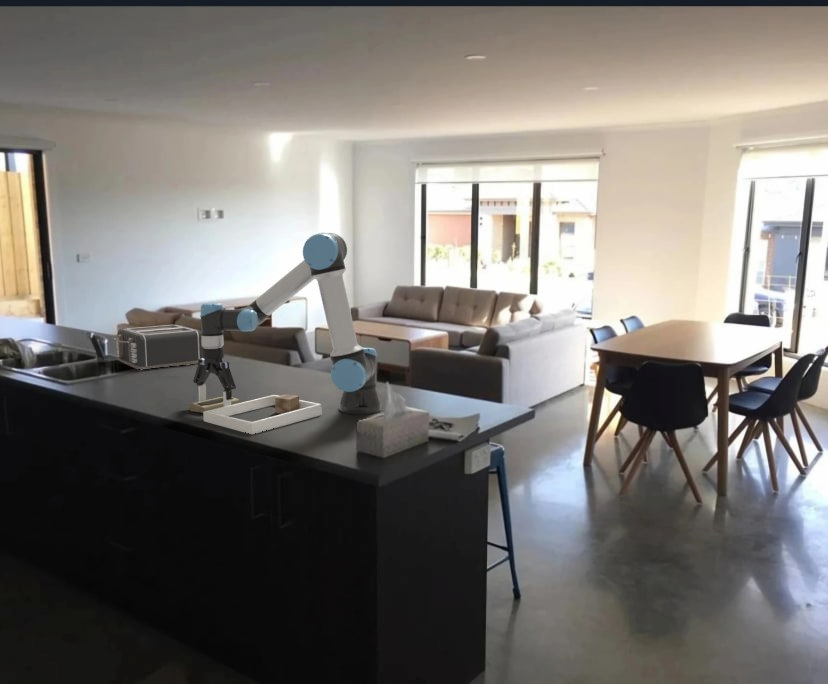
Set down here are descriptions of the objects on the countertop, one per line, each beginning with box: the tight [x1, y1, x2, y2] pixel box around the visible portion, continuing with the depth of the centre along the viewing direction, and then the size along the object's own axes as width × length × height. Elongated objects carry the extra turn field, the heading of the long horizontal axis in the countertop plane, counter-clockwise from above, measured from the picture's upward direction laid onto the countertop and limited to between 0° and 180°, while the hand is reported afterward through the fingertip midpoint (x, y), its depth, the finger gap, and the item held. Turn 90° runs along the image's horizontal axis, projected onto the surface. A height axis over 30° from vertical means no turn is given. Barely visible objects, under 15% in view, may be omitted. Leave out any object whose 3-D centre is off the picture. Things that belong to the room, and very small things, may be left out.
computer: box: [189, 396, 240, 414], centre depth 262 cm, size 16×8×3 cm, turn 142°
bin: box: [202, 394, 323, 435], centre depth 252 cm, size 24×32×4 cm
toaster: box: [112, 324, 203, 370], centre depth 347 cm, size 30×36×17 cm
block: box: [274, 393, 300, 415], centre depth 260 cm, size 6×6×6 cm
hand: (214, 405), depth 261 cm, fingers open, 13 cm apart
